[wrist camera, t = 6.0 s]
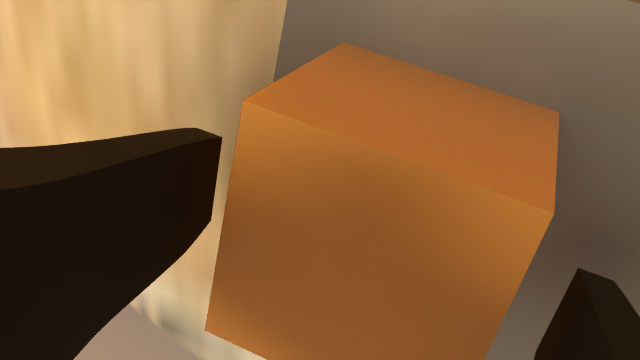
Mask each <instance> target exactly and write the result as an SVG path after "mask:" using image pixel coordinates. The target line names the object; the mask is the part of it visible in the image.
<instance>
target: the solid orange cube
mask: <svg viewBox="0 0 640 360" xmlns="http://www.w3.org/2000/svg"><path fill="white" fill-rule="evenodd" d="M559 113H560V112H557V111H554V110H551V109H548V108H545V107H542V106H539V105H536V104H533V103H530V102H526V101H523V100H520V99H517V98H514V97H511V96H508V95H505V94H502V93H499V92H496V91H493V90H490V89H487V88H483V87H480V86H477V85H474V84H471V83H468V82H465V81H462V80H459V79H456V78H453V77H450V76H447V75H443V74H440V73H437V72H434V71H431V70H428V69H425V68H422V67H419V66H416V65H413V64H410V63H407V62H404V61H400V60H397V59H394V58H391V57H388V56H385V55H382V54H379V53H376V52H373V51H370V50H367V49H364V48H361V47H357V46H354V45H351V44H348V43H345V42H343V43H341V44H339V45H337V46H336V47H334V48H332V49H331V50H329V51H327V52H325V53H324V54H322V55H320V56H319V57H317V58H315V59H313V60H312V61H310V62H308V63H307V64H305V65H303V66H301V67H300V68H298V69H296V70H294V71H293V72H291V73H289V74H288V75H286V76H284V77H282V78H281V79H279V80H277V81H276V82H274V83H272V84H270V85H269V86H267V87H265V88H264V89H262V90H260V91H258V92H257V93H255V94H253V95H251V96H250V97H248V98H246V99H245V100H243V104H242V110H241V116H240V122H239V128H238V134H237V140H236V146H235V152H234V158H233V164H232V170H231V176H230V182H229V188H228V194H227V200H226V206H225V212H224V218H223V224H222V230H221V236H220V242H219V248H218V254H217V260H216V266H215V272H214V278H213V284H212V290H211V296H210V302H209V308H208V314H207V320H206V326H205V331H207V332H210V333H212V334H214V335H216V336H218V337H220V338H222V339H225V340H227V341H229V342H231V343H233V344H235V345H237V346H240V347H242V348H244V349H246V350H248V351H250V352H252V353H254V354H257V355H259V356H261V357H263V358H265V359H267V360H484V359H485V357H486V354H487V352H488V350H489V348H490V346H491V344H492V342H493V340H494V338H495V336H496V334H497V332H498V329H499V327H500V325H501V323H502V321H503V319H504V317H505V315H506V313H507V311H508V309H509V307H510V304H511V302H512V300H513V298H514V296H515V294H516V292H517V290H518V288H519V286H520V284H521V282H522V279H523V277H524V275H525V273H526V271H527V269H528V267H529V265H530V263H531V261H532V259H533V257H534V254H535V252H536V250H537V248H538V246H539V244H540V242H541V240H542V238H543V236H544V234H545V232H546V229H547V227H548V225H549V223H550V221H551V219H552V217H553V215H554V208H555V189H556V170H557V151H558V132H559Z"/></svg>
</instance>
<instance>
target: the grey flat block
mask: <svg viewBox="0 0 640 360" xmlns="http://www.w3.org/2000/svg"><path fill="white" fill-rule="evenodd" d="M343 42H345V43H348V44H351V45H354V46H357V47H361V48H364V49H367V50H370V51H373V52H376V53H379V54H382V55H385V56H388V57H391V58H394V59H397V60H400V61H404V62H407V63H410V64H413V65H416V66H419V67H422V68H425V69H428V70H431V71H434V72H437V73H440V74H443V75H447V76H450V77H453V78H456V79H459V80H462V81H465V82H468V83H471V84H474V85H477V86H480V87H483V88H487V89H490V90H493V91H496V92H499V93H502V94H505V95H508V96H511V97H514V98H517V99H520V100H523V101H526V102H530V103H533V104H536V105H539V106H542V107H545V108H548V109H551V110H554V111H557V112H560V113H559V132H558V151H557V170H556V189H555V208H554V215H553V217H552V219H551V221H550V223H549V225H548V227H547V229H546V232H545V234H544V236H543V238H542V240H541V242H540V244H539V246H538V248H537V250H536V252H535V254H534V257H533V259H532V261H531V263H530V265H529V267H528V269H527V271H526V273H525V275H524V277H523V279H522V282H521V284H520V286H519V288H518V290H517V292H516V294H515V296H514V298H513V300H512V302H511V304H510V307H509V309H508V311H507V313H506V315H505V317H504V319H503V321H502V323H501V325H500V327H499V329H498V332H497V334H496V336H495V338H494V340H493V342H492V344H491V346H490V348H489V350H488V352H487V354H486V357H485V359H484V360H534V357H535V352H536V350H537V348H538V346H539V344H540V342H541V340H542V338H543V336H544V334H545V332H546V330H547V328H548V326H549V324H550V322H551V320H552V318H553V316H554V314H555V312H556V310H557V308H558V306H559V304H560V302H561V300H562V298H563V297H564V295H565V293H566V291H567V289H568V287H569V285H570V283H571V281H572V279H573V277H574V275H575V273H576V271H577V269H578V268H581V269H583V270H586V271H589V272H592V273H594V274H597V275H600V276H603V277H605V278H608V279H611V280H613V281H614V282H615V283H616V284H617V285H618V287H619V288H620V289H621V291H622V292H623V293H624V295H625V296H626V298H627V299H628V300H629V302H630V303H631V305H632V306H633V308H634V309H635V311H636V312H637V314H638V315H639V316H640V0H288V1H287V7H286V13H285V18H284V24H283V30H282V36H281V41H280V47H279V53H278V59H277V64H276V70H275V76H274V81H273V83H274V82H276V81H277V80H279V79H281V78H282V77H284V76H286V75H288V74H289V73H291V72H293V71H294V70H296V69H298V68H300V67H301V66H303V65H305V64H307V63H308V62H310V61H312V60H313V59H315V58H317V57H319V56H320V55H322V54H324V53H325V52H327V51H329V50H331V49H332V48H334V47H336V46H337V45H339V44H341V43H343Z"/></svg>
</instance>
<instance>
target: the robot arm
mask: <svg viewBox="0 0 640 360" xmlns="http://www.w3.org/2000/svg"><path fill="white" fill-rule="evenodd" d="M221 143H222V137H220V136H217V135H215V134H212V133H209V132H206V131H204V130H201V129H198V128H181V129H172V130H164V131H157V132H150V133H143V134H137V135H130V136H123V137H117V138H110V139H103V140H94V141H86V142H77V143H69V144H60V145H50V146H36V147H15V148H0V360H73V359H74V358H75V357H76V356H77V355H78V354H79V353H80V351H81V350H82V349H83V348H84V347H85V346H86V345H87V344H88V342H89V341H90V340H91V339H92V338H93V337H94V336H95V335H96V334H97V333H98V332H99V331H100V330H101V329H102V328H103V327H104V326H105V325H106V324H107V323H108V322H109V321H110V320H111V319H112V318H113V317H114V316H116V315H117V314H118V313H119V312H120V311H121V310H122V309H123V308H125V307H126V306H127V305H128V304H129V303H130V302H131V301H132V300H133V299H135V298H136V297H137V296H138V295H139V294H140V293H141V292H142V291H144V290H145V289H146V288H147V287H148V286H149V285H150V284H151V283H153V282H154V281H155V280H156V279H157V278H158V277H159V276H160V275H161V274H162V273H164V272H165V271H166V270H167V269H168V268H169V267H170V266H171V265H172V264H173V263H175V262H176V261H177V260H178V259H179V258H180V257H181V256H182V255H183V254H184V253H185V252H186V251H187V249H188V248H189V247H190V246H191V245H192V244H193V242H194V241H195V240H196V239H197V238H198V236H199V235H200V234H201V233H202V231H203V230H204V229H205V227H206V226H207V225H208V224H209V222H210V221H211V216H212V209H213V202H214V194H215V187H216V180H217V172H218V165H219V158H220V151H221ZM534 360H640V316H639V315H638V314H637V312H636V311H635V309H634V308H633V306H632V305H631V303H630V302H629V300H628V299H627V298H626V296H625V295H624V293H623V292H622V291H621V289H620V288H619V287H618V285H617V284H616V283H615V282H614V281H613V280H611V279H608V278H605V277H603V276H600V275H597V274H594V273H592V272H589V271H586V270H583V269H581V268H578V269H577V271H576V273H575V275H574V277H573V279H572V281H571V283H570V285H569V287H568V289H567V291H566V293H565V295H564V297H563V298H562V300H561V302H560V304H559V306H558V308H557V310H556V312H555V314H554V316H553V318H552V320H551V322H550V324H549V326H548V328H547V330H546V332H545V334H544V336H543V338H542V340H541V342H540V344H539V346H538V348H537V350H536V352H535V357H534Z"/></svg>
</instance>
